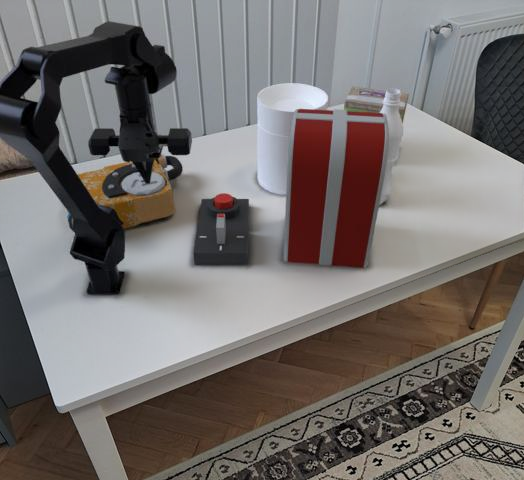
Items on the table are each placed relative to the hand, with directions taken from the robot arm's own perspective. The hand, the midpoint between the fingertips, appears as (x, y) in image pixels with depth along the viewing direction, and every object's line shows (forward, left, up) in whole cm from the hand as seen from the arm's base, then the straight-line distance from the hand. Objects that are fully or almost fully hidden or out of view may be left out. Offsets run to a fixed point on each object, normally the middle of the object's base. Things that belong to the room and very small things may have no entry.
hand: (148, 182), depth 105 cm
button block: (+7, -14, -13) cm, 21 cm away
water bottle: (+15, -50, -13) cm, 54 cm away
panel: (-5, -14, -13) cm, 20 cm away
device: (+13, +8, -13) cm, 20 cm away
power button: (+7, -14, -9) cm, 19 cm away
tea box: (+39, -52, -13) cm, 66 cm away
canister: (+25, -30, -13) cm, 41 cm away
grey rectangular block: (-5, -15, -10) cm, 18 cm away
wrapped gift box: (-2, -37, -13) cm, 39 cm away
